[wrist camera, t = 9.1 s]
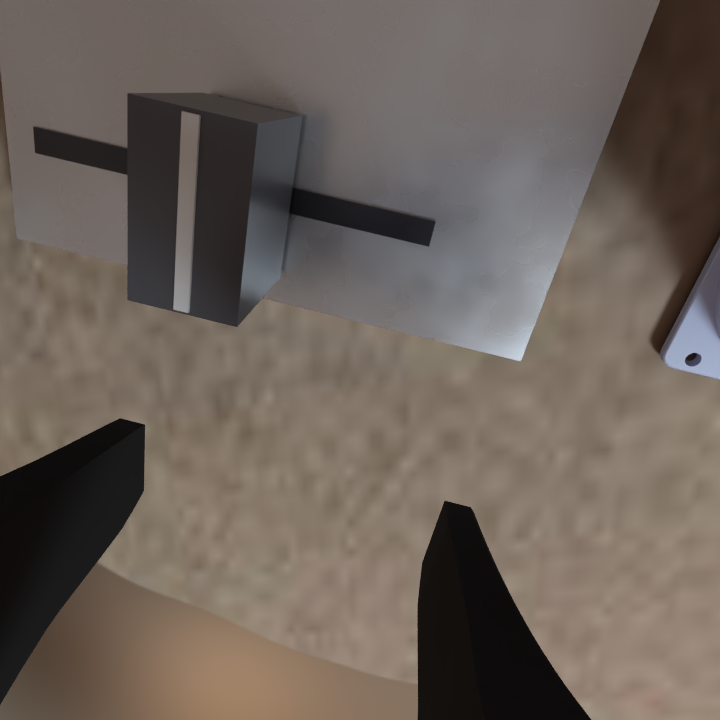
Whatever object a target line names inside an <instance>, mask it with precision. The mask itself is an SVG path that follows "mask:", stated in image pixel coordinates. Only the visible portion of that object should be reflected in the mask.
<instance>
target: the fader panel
mask: <svg viewBox="0 0 720 720" xmlns="http://www.w3.org/2000/svg"><path fill="white" fill-rule="evenodd" d="M659 2H660V0H0V72H1V82H2V92H3V102H4V112H5V123H6V133H7V143H8V153H9V163H10V173H11V184H12V194H13V204H14V214H15V224H16V234H17V239H21V240H25V241H29V242H34V243H38V244H42V245H46V246H50V247H54V248H58V249H62V250H66V251H70V252H75V253H79V254H83V255H87V256H91V257H95V258H99V259H103V260H107V261H111V262H116V263H120V264H124V265H128V221H127V93H207V94H211V95H215V96H220V97H224V98H228V99H233V100H237V101H241V102H246V103H250V104H254V105H258V106H263V107H267V108H271V109H276V110H280V111H284V112H289V113H293V114H297V115H302V123H301V130H300V138H299V145H298V152H297V159H296V167H295V174H294V181H293V188H292V196H291V203H290V210H289V217H288V225H287V232H286V239H285V246H284V254H283V261H282V268H281V275H280V279H279V280H278V281H277V282H276V283H275V284H274V285H273V286H272V288H271V289H270V290H269V291H268V292H267V293H266V294H265V296H264V297H263V299H267V300H271V301H276V302H280V303H284V304H288V305H292V306H296V307H300V308H304V309H308V310H313V311H317V312H321V313H325V314H329V315H333V316H337V317H341V318H345V319H349V320H354V321H358V322H362V323H366V324H370V325H374V326H378V327H382V328H386V329H390V330H395V331H399V332H403V333H407V334H411V335H415V336H419V337H423V338H427V339H432V340H436V341H440V342H444V343H448V344H452V345H456V346H460V347H464V348H468V349H473V350H477V351H481V352H485V353H489V354H493V355H497V356H501V357H505V358H509V359H514V360H518V361H521V359H522V356H523V354H524V351H525V349H526V346H527V343H528V341H529V338H530V336H531V333H532V330H533V328H534V325H535V323H536V320H537V318H538V315H539V312H540V310H541V307H542V305H543V302H544V299H545V297H546V294H547V292H548V289H549V287H550V284H551V281H552V279H553V276H554V274H555V271H556V268H557V266H558V263H559V261H560V258H561V256H562V253H563V250H564V248H565V245H566V243H567V240H568V237H569V235H570V232H571V230H572V227H573V224H574V222H575V219H576V217H577V214H578V212H579V209H580V206H581V204H582V201H583V199H584V196H585V193H586V191H587V188H588V186H589V183H590V181H591V178H592V175H593V173H594V170H595V168H596V165H597V162H598V160H599V157H600V155H601V152H602V149H603V147H604V144H605V142H606V139H607V137H608V134H609V131H610V129H611V126H612V124H613V121H614V118H615V116H616V113H617V111H618V108H619V106H620V103H621V100H622V98H623V95H624V93H625V90H626V87H627V85H628V82H629V80H630V77H631V74H632V72H633V69H634V67H635V64H636V62H637V59H638V56H639V54H640V51H641V49H642V46H643V43H644V41H645V38H646V36H647V33H648V31H649V28H650V25H651V23H652V20H653V18H654V15H655V12H656V10H657V7H658V5H659Z"/></svg>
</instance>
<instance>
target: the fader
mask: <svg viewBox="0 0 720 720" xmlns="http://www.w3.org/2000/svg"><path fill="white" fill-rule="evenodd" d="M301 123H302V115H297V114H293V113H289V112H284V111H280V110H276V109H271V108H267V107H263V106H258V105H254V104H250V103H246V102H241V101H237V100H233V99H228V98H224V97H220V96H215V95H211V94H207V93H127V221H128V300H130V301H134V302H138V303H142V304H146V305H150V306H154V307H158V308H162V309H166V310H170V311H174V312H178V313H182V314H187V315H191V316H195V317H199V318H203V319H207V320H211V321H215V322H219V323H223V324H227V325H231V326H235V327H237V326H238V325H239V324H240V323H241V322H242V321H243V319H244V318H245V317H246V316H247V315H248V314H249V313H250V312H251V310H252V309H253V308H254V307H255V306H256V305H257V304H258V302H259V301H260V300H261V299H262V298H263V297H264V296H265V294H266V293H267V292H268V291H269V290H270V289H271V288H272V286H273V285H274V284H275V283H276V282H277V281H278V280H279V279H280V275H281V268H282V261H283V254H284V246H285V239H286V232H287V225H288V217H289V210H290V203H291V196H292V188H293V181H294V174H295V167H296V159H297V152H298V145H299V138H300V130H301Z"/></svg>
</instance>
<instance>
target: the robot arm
mask: <svg viewBox="0 0 720 720" xmlns="http://www.w3.org/2000/svg"><path fill="white" fill-rule="evenodd" d="M691 353H697V355H696V357H695V358H694V359H693V360H691V361H685V358H686V357H687V356H688V355H689V354H691ZM660 356H661V359H662V360H663V361H664V363H665V364H666V365H667V366H669V367H671V368H674V369H678V370H682V371H687V372H691V373H695V374H699V375H703V376H707V377H711V378H716V379H720V237H719V239H718V241H717V243H716V245H715V246H714V248H713V250H712V252H711V254H710V256H709V258H708V260H707V262H706V264H705V266H704V268H703V270H702V272H701V273H700V275H699V277H698V279H697V281H696V283H695V285H694V287H693V289H692V291H691V293H690V295H689V297H688V298H687V300H686V302H685V304H684V306H683V308H682V310H681V312H680V314H679V316H678V318H677V320H676V322H675V324H674V325H673V327H672V329H671V331H670V333H669V335H668V337H667V339H666V341H665V343H664V345H663V347H662V349H661V352H660ZM144 450H145V425H144V424H140V423H136V422H132V421H128V420H124V419H118V420H116V421H114V422H112V423H110V424H108V425H106V426H104V427H102V428H100V429H98V430H96V431H94V432H92V433H90V434H88V435H86V436H84V437H82V438H80V439H78V440H76V441H74V442H72V443H70V444H68V445H66V446H64V447H62V448H60V449H58V450H56V451H54V452H52V453H50V454H48V455H46V456H44V457H42V458H40V459H38V460H36V461H34V462H31V463H29V464H27V465H25V466H23V467H20V468H18V469H16V470H14V471H11V472H9V473H7V474H5V475H2V476H0V704H1V702H2V701H3V699H4V697H5V696H6V694H7V692H8V691H9V689H10V687H11V686H12V684H13V682H14V681H15V679H16V677H17V676H18V674H19V672H20V671H21V669H22V667H23V666H24V664H25V663H26V661H27V659H28V658H29V656H30V655H31V653H32V652H33V650H34V648H35V647H36V645H37V643H38V642H39V640H40V639H41V637H42V635H43V634H44V632H45V631H46V629H47V628H48V626H49V625H50V624H51V622H52V621H53V619H54V618H55V616H56V615H57V613H58V612H59V611H60V609H61V608H62V607H63V606H64V604H65V603H66V601H67V600H68V599H69V598H70V596H71V595H72V594H73V592H74V591H75V590H76V589H77V587H78V586H79V585H80V583H81V582H82V581H83V579H84V578H85V577H86V575H87V574H88V573H89V572H90V570H91V569H92V567H93V566H94V565H95V564H96V562H97V561H98V560H99V559H100V557H101V556H102V555H103V553H104V552H105V551H106V549H107V548H108V547H109V545H110V544H111V543H112V541H113V540H114V539H115V537H116V536H117V535H118V533H119V532H120V531H121V529H122V528H123V526H124V524H125V523H126V521H127V519H128V518H129V516H130V514H131V513H132V511H133V509H134V507H135V506H136V504H137V502H138V500H139V499H140V497H141V495H142V493H143V491H144ZM418 720H591V719H590V718H589V716H588V715H587V714H586V712H585V711H584V710H583V708H582V707H581V706H580V704H579V703H578V702H577V700H576V699H575V698H574V697H573V695H572V694H571V693H570V691H569V690H568V689H567V687H566V686H565V684H564V683H563V681H562V680H561V679H560V677H559V676H558V674H557V673H556V671H555V670H554V668H553V667H552V665H551V664H550V662H549V661H548V659H547V657H546V656H545V654H544V653H543V651H542V650H541V648H540V646H539V645H538V643H537V641H536V640H535V638H534V636H533V635H532V633H531V631H530V630H529V628H528V626H527V624H526V623H525V621H524V619H523V617H522V615H521V614H520V612H519V610H518V608H517V606H516V604H515V603H514V601H513V599H512V597H511V595H510V593H509V591H508V589H507V587H506V585H505V583H504V581H503V579H502V577H501V575H500V573H499V570H498V568H497V566H496V564H495V562H494V560H493V558H492V555H491V553H490V551H489V548H488V546H487V544H486V542H485V539H484V537H483V534H482V532H481V529H480V527H479V524H478V522H477V519H476V517H475V514H474V512H473V510H472V509H471V507H467V506H463V505H459V504H455V503H452V502H448V501H444V504H443V507H442V510H441V513H440V515H439V518H438V521H437V524H436V526H435V529H434V532H433V535H432V537H431V540H430V543H429V546H428V548H427V551H426V554H425V557H424V560H423V562H422V570H421V579H420V588H419V598H418Z"/></svg>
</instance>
